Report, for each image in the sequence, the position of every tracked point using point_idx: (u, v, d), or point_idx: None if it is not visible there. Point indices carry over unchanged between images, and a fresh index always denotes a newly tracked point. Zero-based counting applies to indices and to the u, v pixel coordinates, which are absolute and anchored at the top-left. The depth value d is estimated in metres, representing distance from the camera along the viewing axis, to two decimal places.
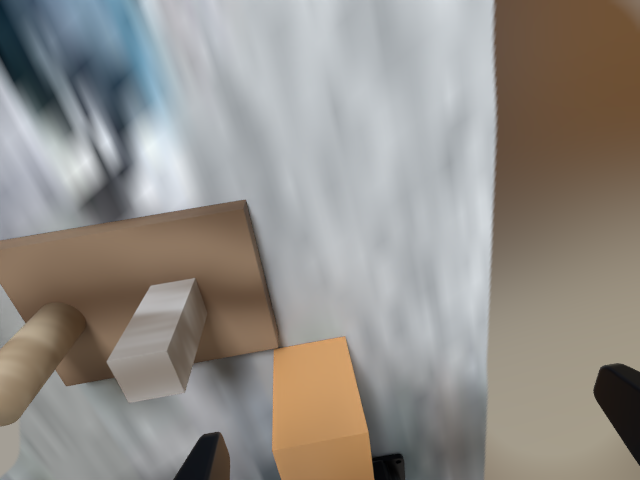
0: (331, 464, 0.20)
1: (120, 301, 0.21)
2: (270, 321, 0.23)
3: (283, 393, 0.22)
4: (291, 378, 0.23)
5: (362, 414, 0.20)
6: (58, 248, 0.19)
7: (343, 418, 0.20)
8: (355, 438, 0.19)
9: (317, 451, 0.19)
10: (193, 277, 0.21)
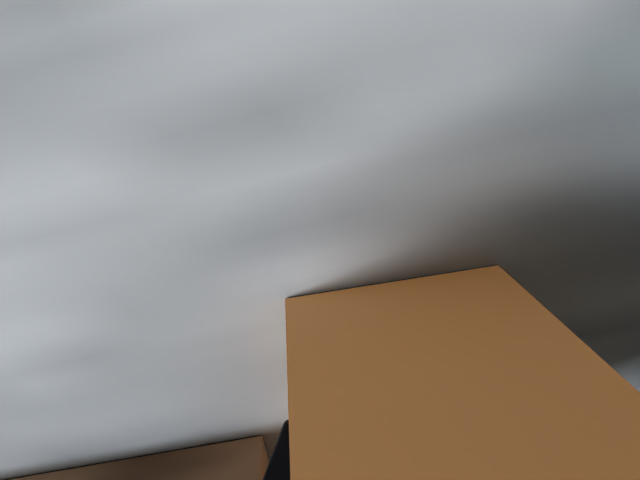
0: None
1: None
2: None
3: None
4: None
5: None
6: None
7: None
8: None
9: None
10: None
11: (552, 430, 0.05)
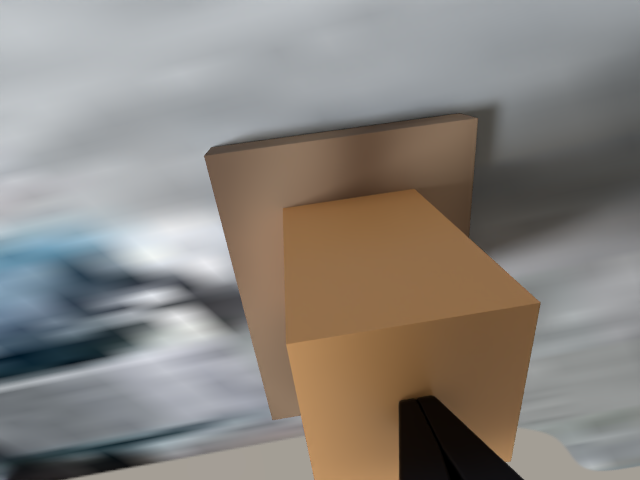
0: (395, 404, 0.08)
1: None
2: (417, 128, 0.13)
3: None
4: None
5: (285, 313, 0.08)
6: (268, 364, 0.17)
7: None
8: (306, 369, 0.07)
9: (339, 433, 0.08)
10: None
11: (409, 240, 0.10)
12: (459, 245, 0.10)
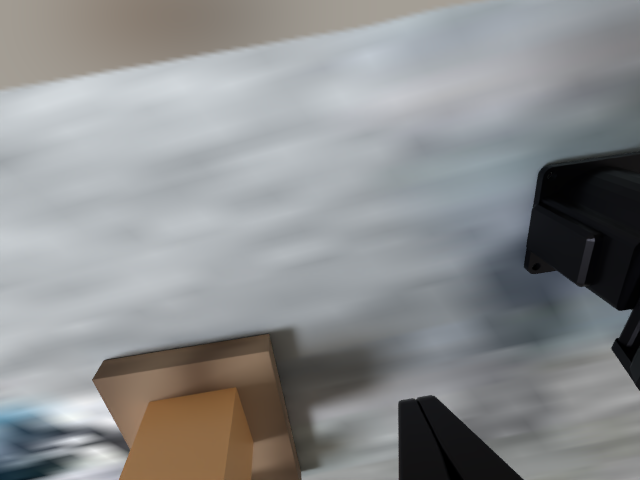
0: None
1: None
2: (229, 358, 0.21)
3: None
4: None
5: None
6: None
7: None
8: None
9: None
10: None
11: (195, 458, 0.18)
12: (216, 470, 0.17)
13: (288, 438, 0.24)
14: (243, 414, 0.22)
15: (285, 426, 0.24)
